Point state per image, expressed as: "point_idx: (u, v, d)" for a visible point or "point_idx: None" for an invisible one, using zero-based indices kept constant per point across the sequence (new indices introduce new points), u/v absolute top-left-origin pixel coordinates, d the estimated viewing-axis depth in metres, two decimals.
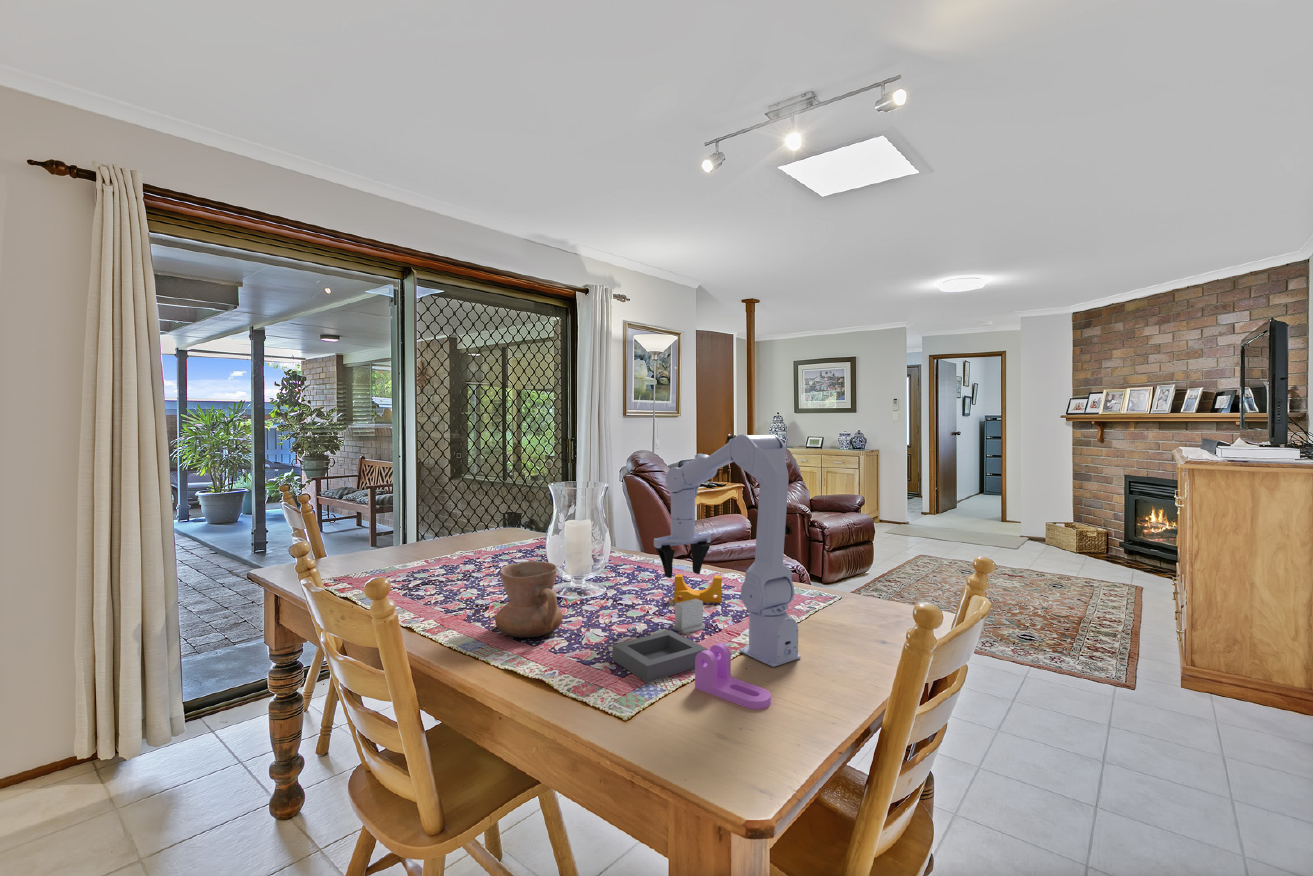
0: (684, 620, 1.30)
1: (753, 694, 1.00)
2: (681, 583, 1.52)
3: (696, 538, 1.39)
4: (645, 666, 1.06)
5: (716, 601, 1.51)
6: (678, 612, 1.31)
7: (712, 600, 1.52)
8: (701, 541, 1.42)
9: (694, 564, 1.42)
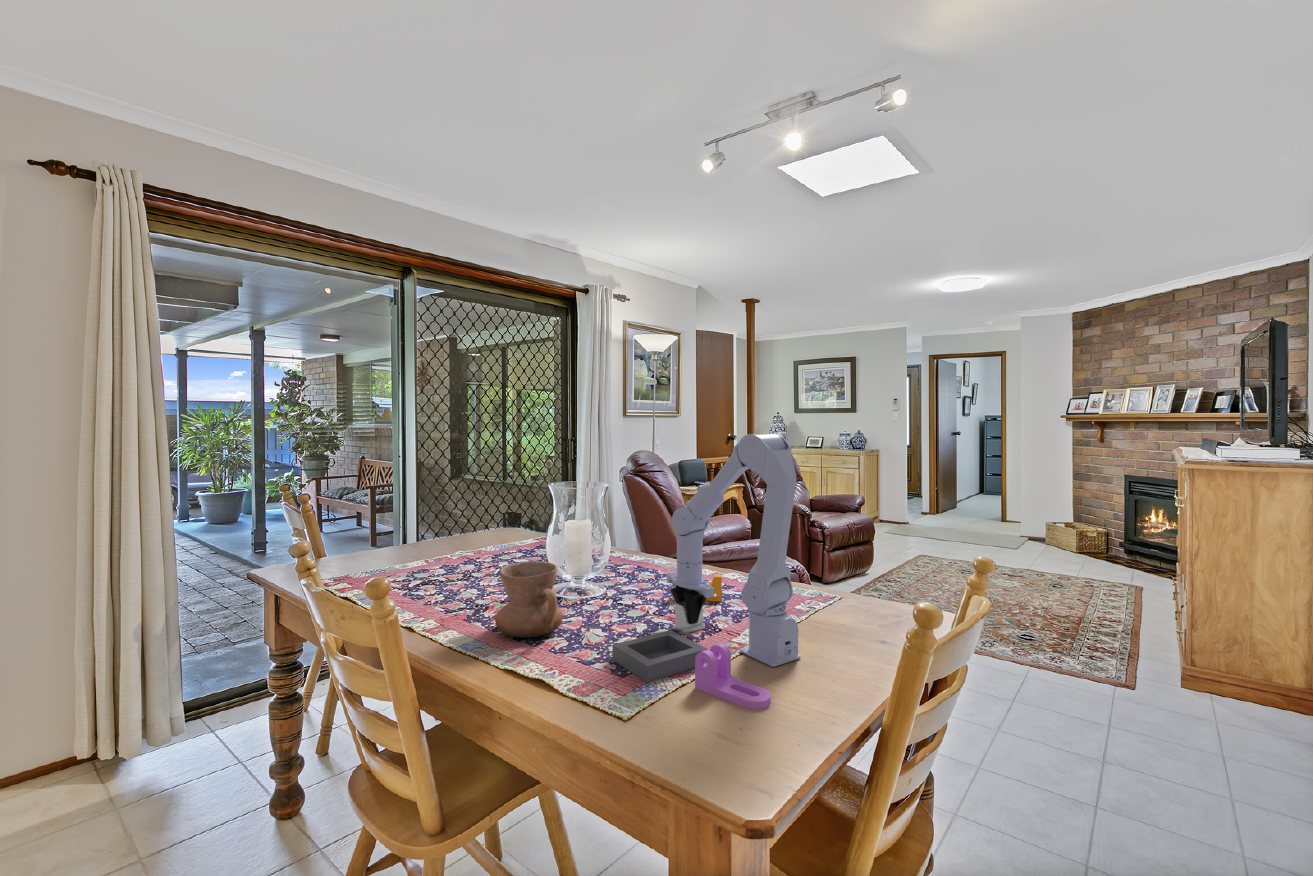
0: (684, 620, 1.30)
1: (753, 694, 1.00)
2: None
3: (687, 585, 1.29)
4: (645, 666, 1.06)
5: (716, 600, 1.52)
6: (678, 612, 1.31)
7: (712, 599, 1.53)
8: (694, 590, 1.30)
9: None
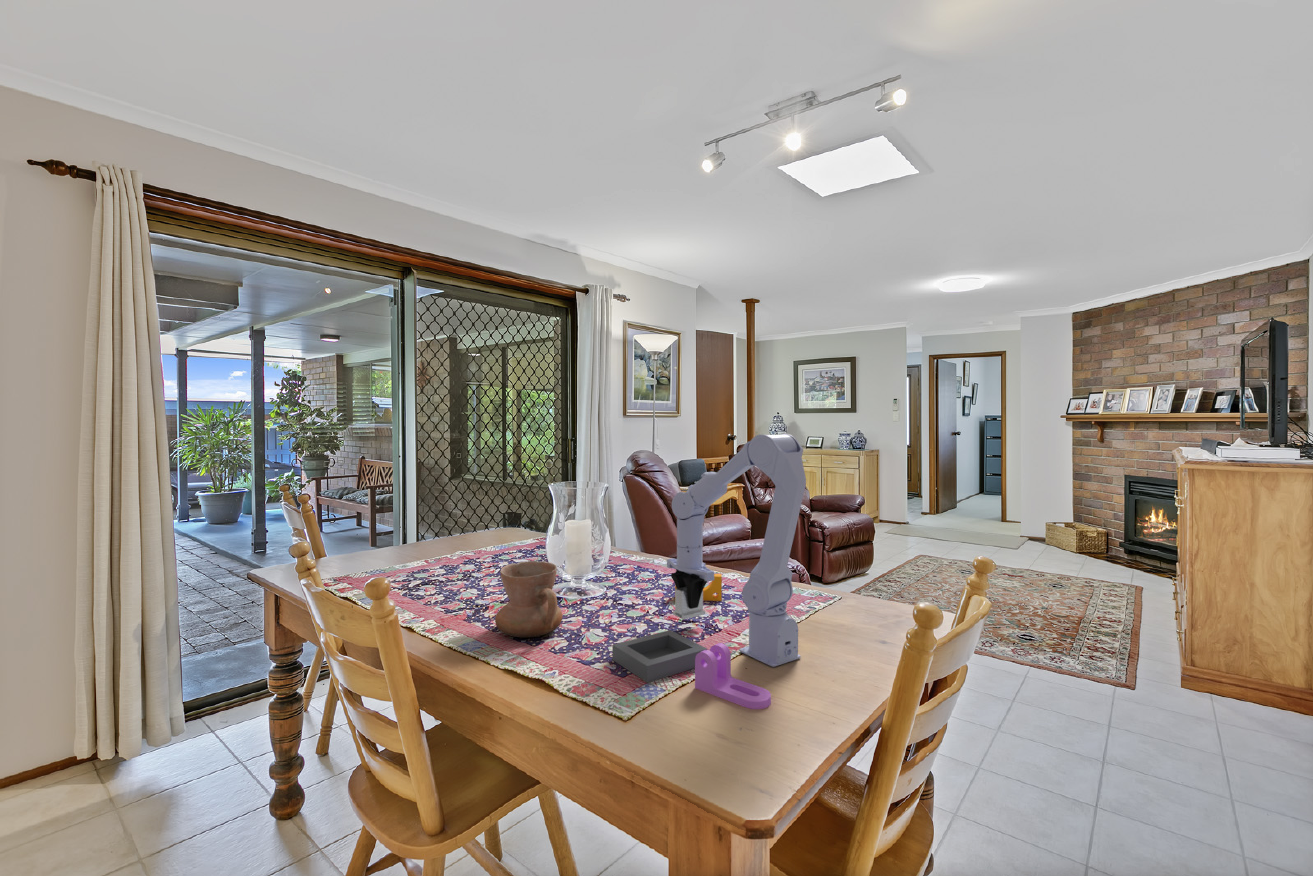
0: (684, 605, 1.30)
1: (753, 694, 1.00)
2: None
3: (687, 569, 1.29)
4: (645, 666, 1.06)
5: (716, 599, 1.53)
6: (678, 598, 1.31)
7: (712, 598, 1.53)
8: (694, 574, 1.30)
9: None
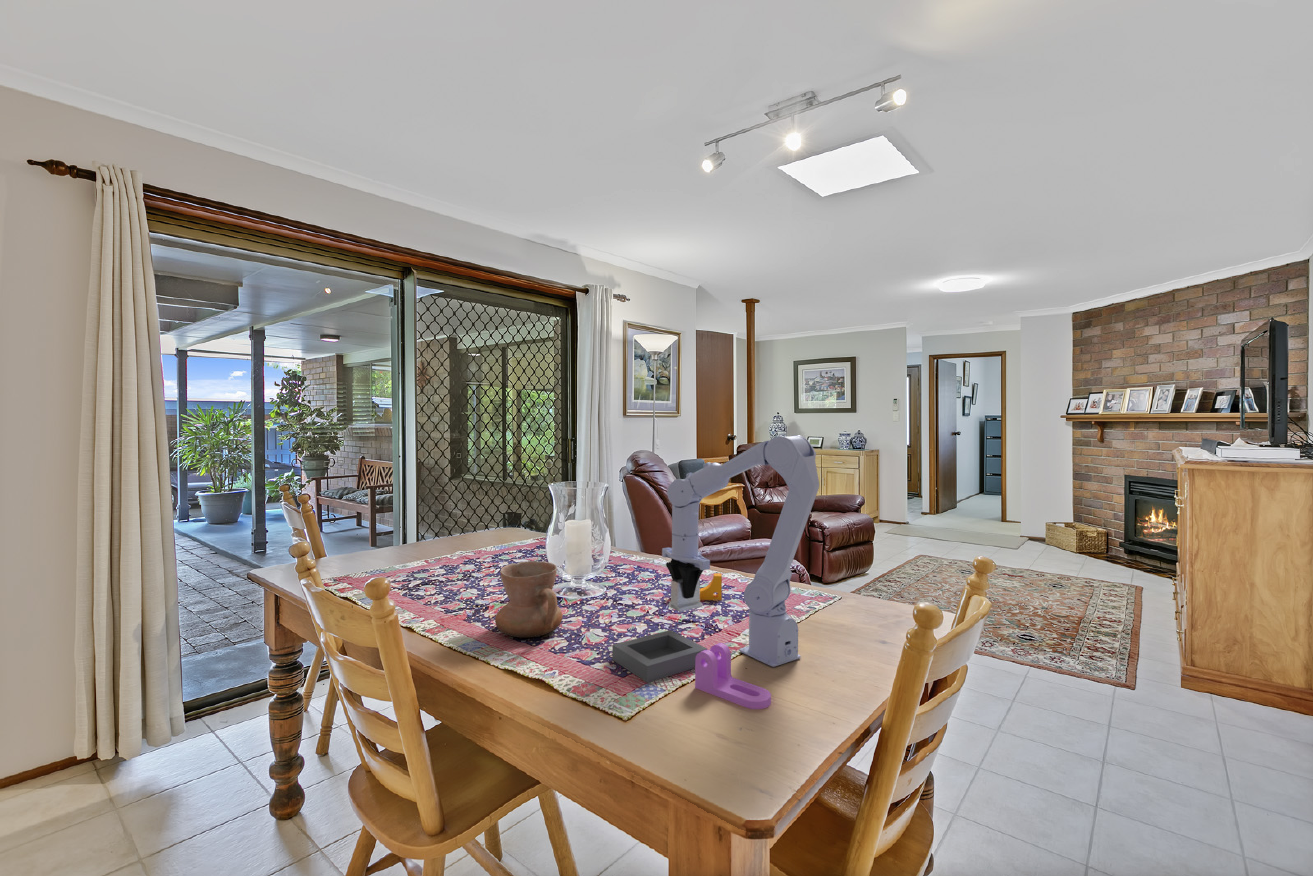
0: (680, 597, 1.27)
1: (753, 694, 1.00)
2: None
3: (682, 558, 1.25)
4: (645, 666, 1.06)
5: (716, 599, 1.53)
6: (674, 589, 1.27)
7: (712, 598, 1.53)
8: (690, 563, 1.26)
9: None
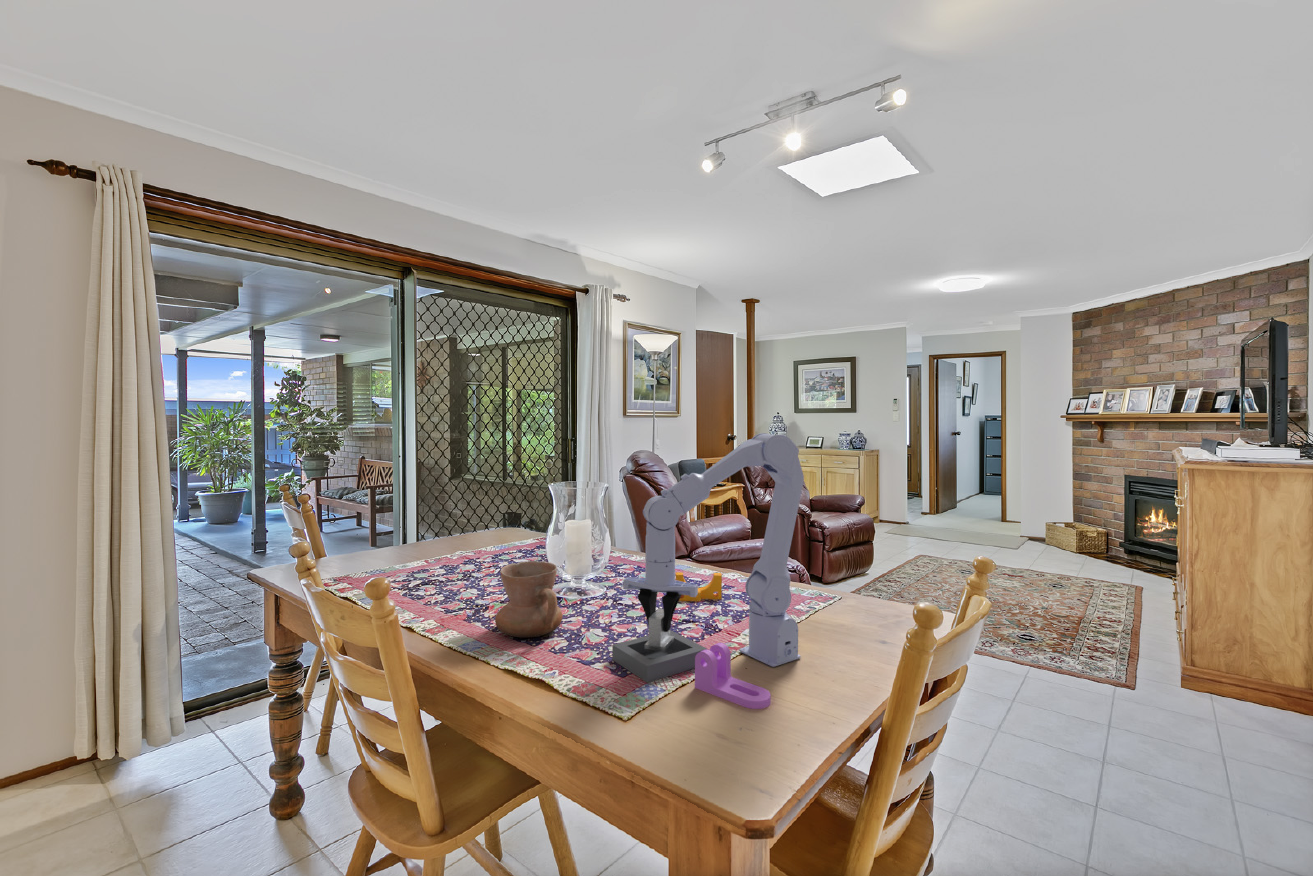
0: (661, 635, 1.12)
1: (753, 694, 1.00)
2: (682, 581, 1.54)
3: (667, 587, 1.11)
4: (645, 666, 1.06)
5: (716, 598, 1.54)
6: (654, 628, 1.11)
7: (712, 597, 1.54)
8: (671, 592, 1.13)
9: None
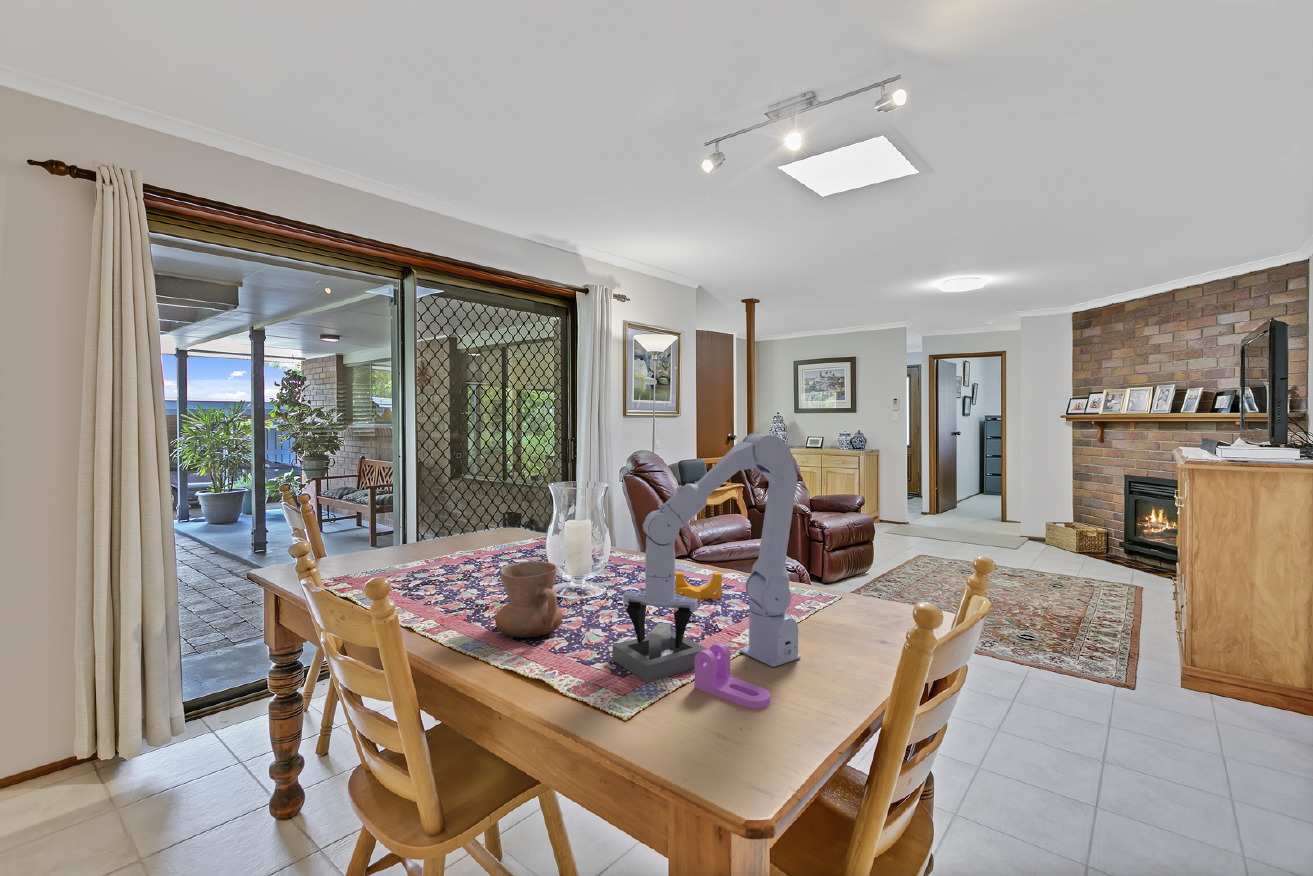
0: (662, 650, 1.12)
1: (753, 693, 1.00)
2: (682, 580, 1.55)
3: (667, 602, 1.11)
4: (645, 666, 1.06)
5: (716, 597, 1.55)
6: (654, 643, 1.12)
7: (712, 596, 1.55)
8: (683, 608, 1.12)
9: None
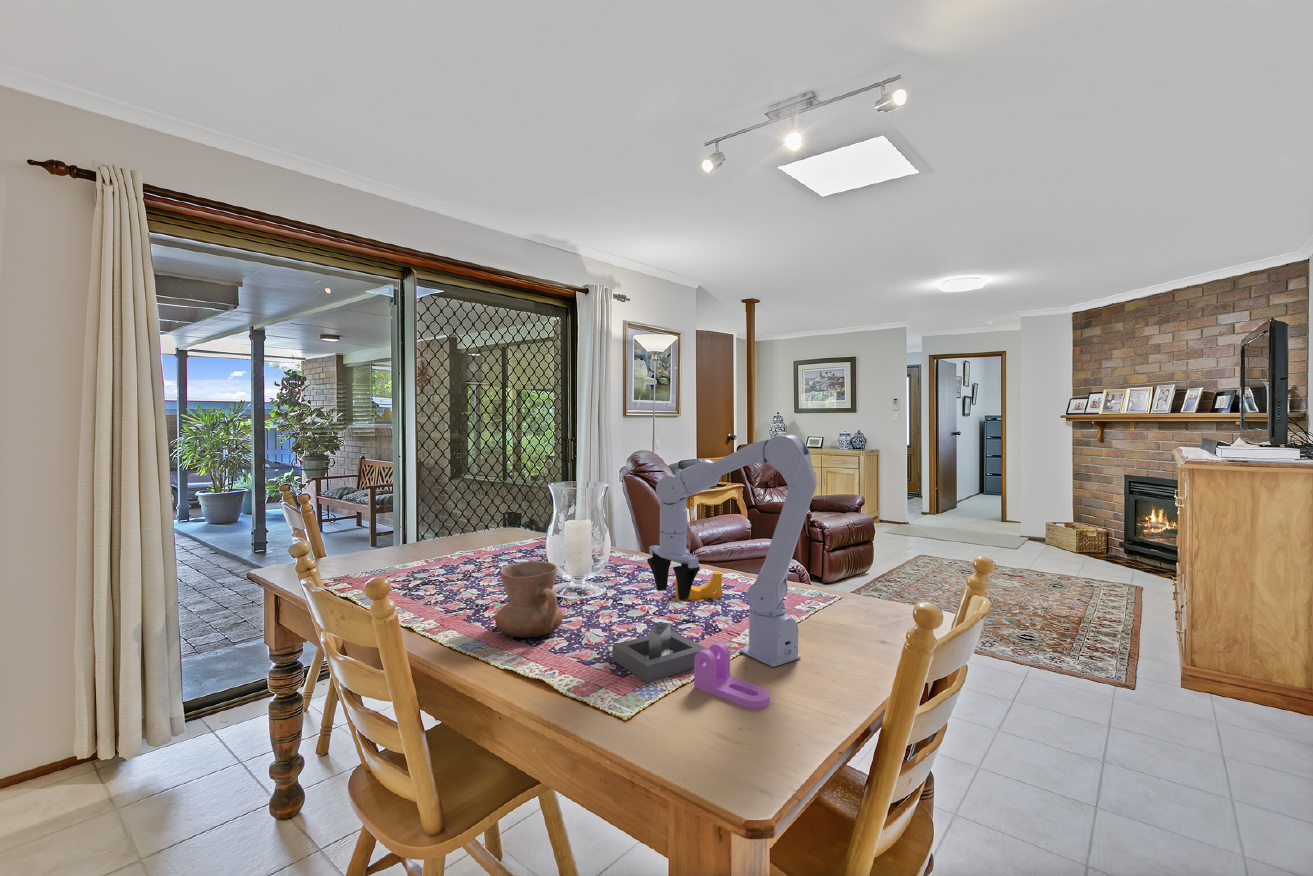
0: (662, 650, 1.12)
1: (752, 693, 1.00)
2: None
3: (670, 556, 1.23)
4: (645, 666, 1.06)
5: (716, 596, 1.55)
6: (654, 643, 1.12)
7: (712, 595, 1.55)
8: (685, 564, 1.22)
9: None
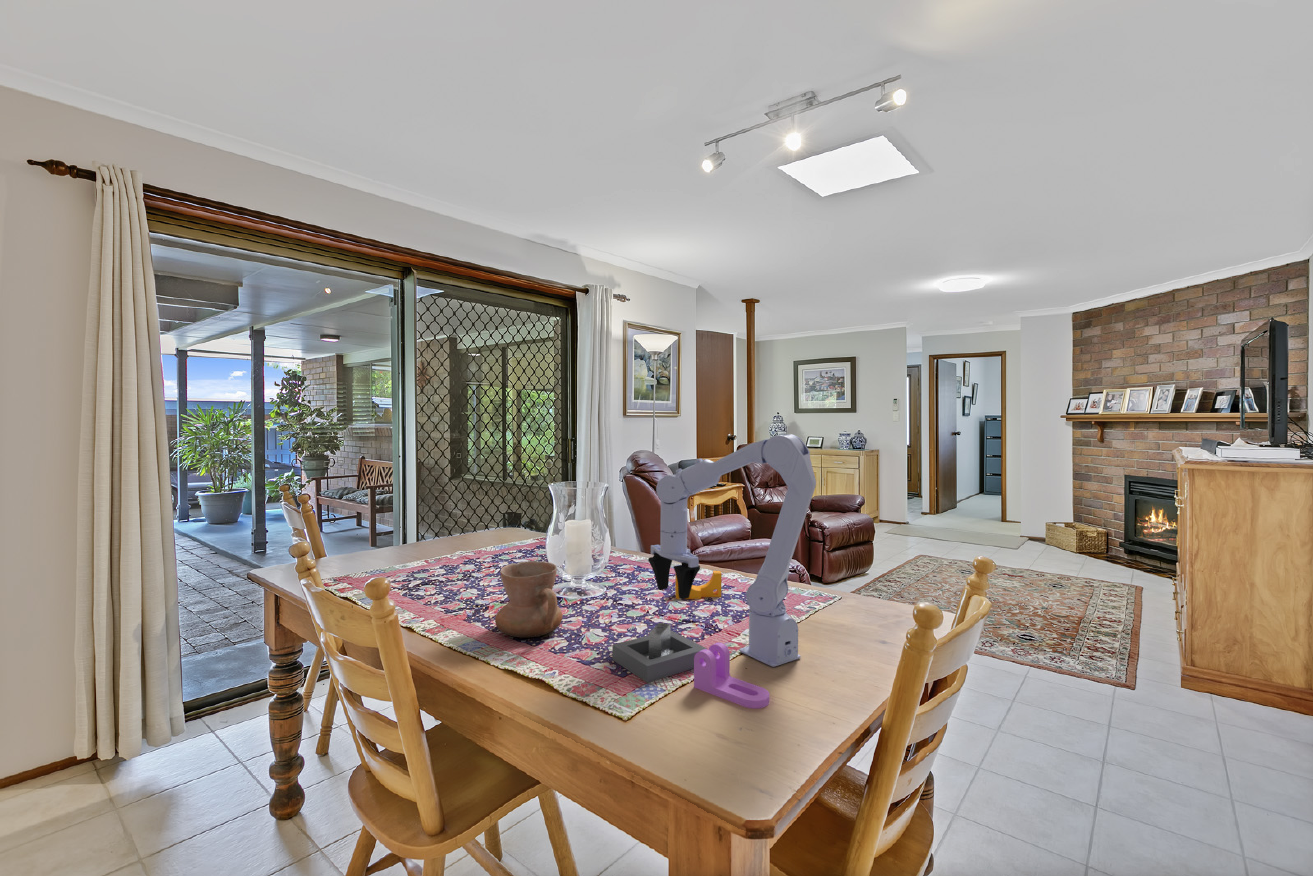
0: (662, 650, 1.12)
1: (752, 693, 1.00)
2: None
3: (671, 555, 1.24)
4: (645, 666, 1.06)
5: (716, 595, 1.56)
6: (654, 643, 1.12)
7: (712, 595, 1.56)
8: (685, 563, 1.23)
9: None
